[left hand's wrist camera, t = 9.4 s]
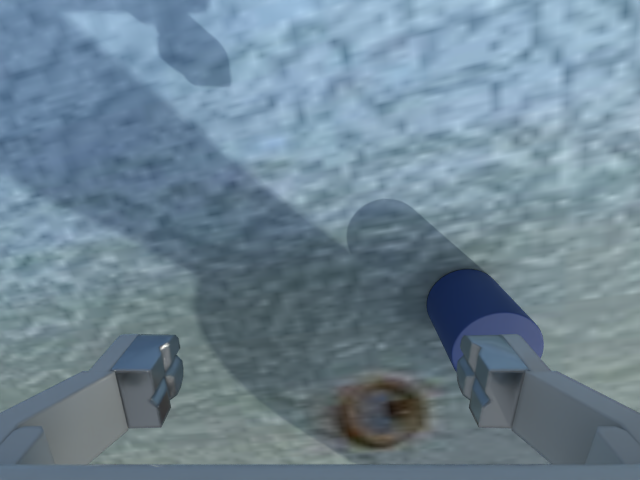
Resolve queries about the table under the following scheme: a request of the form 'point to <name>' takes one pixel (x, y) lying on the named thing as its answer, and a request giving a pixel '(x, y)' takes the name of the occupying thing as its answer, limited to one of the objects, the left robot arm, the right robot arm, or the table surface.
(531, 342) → the canister
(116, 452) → the table surface
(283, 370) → the table surface
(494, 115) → the table surface
